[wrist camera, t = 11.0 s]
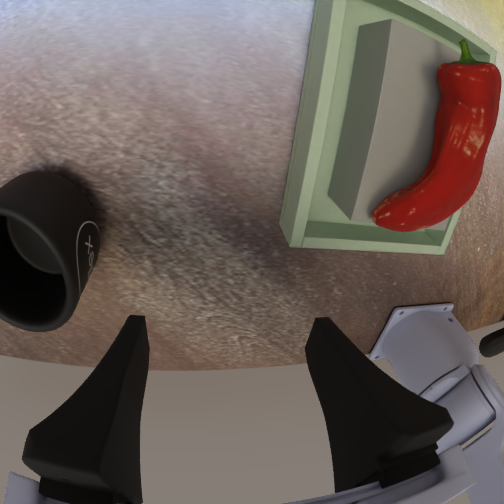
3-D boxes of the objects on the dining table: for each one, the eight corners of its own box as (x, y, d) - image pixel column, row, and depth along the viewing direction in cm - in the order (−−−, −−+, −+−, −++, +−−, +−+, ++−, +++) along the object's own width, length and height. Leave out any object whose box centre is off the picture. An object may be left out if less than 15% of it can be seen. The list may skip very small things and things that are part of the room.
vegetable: (449, 17, 8) (370, 236, 15) (534, 75, 7) (450, 267, 15) (423, 27, 11) (364, 200, 19) (496, 69, 11) (432, 227, 18)
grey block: (449, 64, 16) (486, 70, 12) (415, 207, 22) (444, 231, 18) (358, 25, 14) (392, 18, 11) (327, 195, 20) (350, 221, 17)
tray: (468, 48, 15) (497, 50, 13) (422, 235, 24) (443, 255, 22) (317, -20, 13) (337, -34, 10) (278, 223, 22) (289, 247, 19)
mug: (112, 169, 18) (71, 216, 12) (106, 279, 22) (83, 346, 16) (-20, 156, 15) (-79, 193, 9) (-9, 255, 19) (-49, 307, 13)
